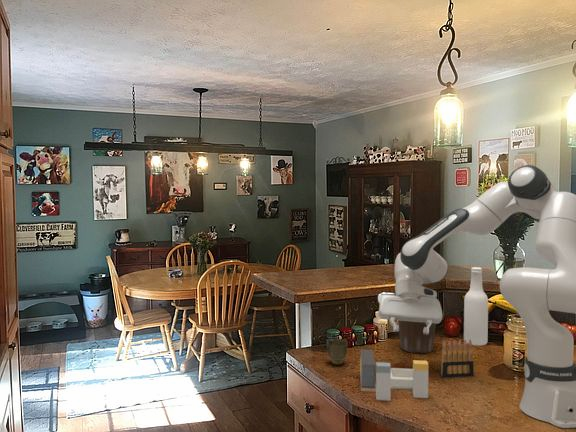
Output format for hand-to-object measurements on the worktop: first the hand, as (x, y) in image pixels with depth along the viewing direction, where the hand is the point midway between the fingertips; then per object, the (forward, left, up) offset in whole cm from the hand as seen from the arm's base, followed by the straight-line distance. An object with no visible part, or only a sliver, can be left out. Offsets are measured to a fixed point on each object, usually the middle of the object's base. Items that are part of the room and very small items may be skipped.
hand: (411, 332), depth 155 cm
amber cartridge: (-1, +12, -15) cm, 20 cm away
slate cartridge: (+10, +15, -15) cm, 24 cm away
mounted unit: (+14, +3, -15) cm, 21 cm away
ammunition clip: (-15, -5, -16) cm, 22 cm away
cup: (+24, -12, -16) cm, 31 cm away
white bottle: (-30, -42, -16) cm, 54 cm away
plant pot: (-6, -32, -16) cm, 36 cm away
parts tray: (+3, +3, -15) cm, 16 cm away
